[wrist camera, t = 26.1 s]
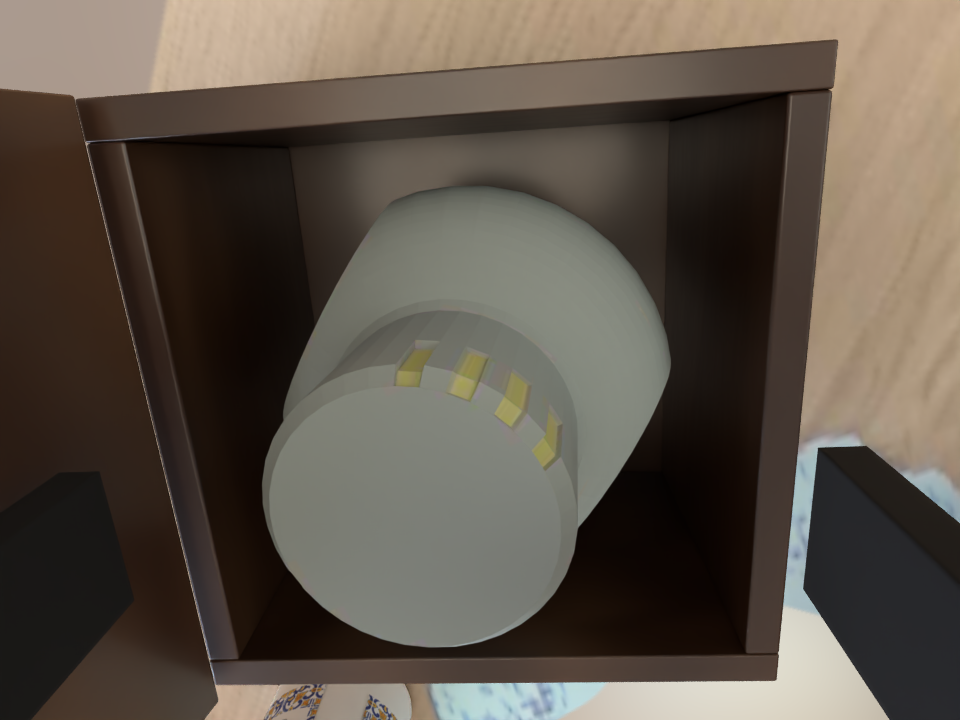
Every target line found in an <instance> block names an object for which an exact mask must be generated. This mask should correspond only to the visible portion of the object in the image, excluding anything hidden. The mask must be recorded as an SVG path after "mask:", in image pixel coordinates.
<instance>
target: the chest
mask: <svg viewBox="0 0 960 720" xmlns="http://www.w3.org/2000/svg"><path fill="white" fill-rule="evenodd" d="M837 46H838V40H836V39H835V40H822V41H809V42H796V43H784V44H771V45H758V46H745V47H732V48H720V49H707V50H694V51H681V52H669V53H656V54H643V55H630V56H617V57H605V58H592V59H579V60H566V61H554V62H541V63H528V64H515V65H502V66H490V67H477V68H464V69H451V70H439V71H426V72H413V73H400V74H387V75H375V76H362V77H349V78H336V79H324V80H311V81H298V82H285V83H272V84H260V85H247V86H234V87H221V88H208V89H196V90H183V91H170V92H157V93H145V94H132V95H119V96H107V97H94V98H81V99H76V106H77V110H78V114H79V118H80V122H81V126H82V131H83V135H84V139H85V142H87V143H90V144H88V145H87V148H88V152H89V157H90V161H91V165H92V169H93V173H94V177H95V182H96V186H97V190H98V194H99V199H100V203H101V207H102V211H103V215H104V219H105V223H106V228H107V232H108V236H109V240H110V245H111V248H112V253H113V257H114V261H115V266H116V270H117V274H118V278H119V282H120V286H121V291H122V295H123V299H124V303H125V307H126V312H127V316H128V320H129V324H130V328H131V333H132V337H133V341H134V345H135V349H136V353H137V358H138V362H139V366H140V370H141V374H142V379H143V383H144V387H145V391H146V395H147V400H148V404H149V408H150V412H151V416H152V420H153V425H154V429H155V433H156V437H157V441H158V446H159V450H160V454H161V458H162V462H163V467H164V471H165V475H166V479H167V483H168V487H169V492H170V496H171V500H172V504H173V508H174V513H175V517H176V521H177V525H178V529H179V534H180V538H181V542H182V546H183V550H184V554H185V559H186V563H187V567H188V571H189V575H190V580H191V584H192V588H193V592H194V596H195V601H196V605H197V609H198V613H199V617H200V621H201V626H202V630H203V634H204V638H205V642H206V647H207V651H208V655H209V658H210V659H211V660H210V665H211V669H212V673H213V677H214V681H215V684H216V685H296V684H425V683H555V682H678V681H679V682H681V681H682V682H684V681H775V680H776V679H777V668H778V658H779V655H778V651H779V642H780V631H781V621H782V610H783V601H784V590H785V580H786V569H787V559H788V548H789V538H790V528H791V517H792V507H793V496H794V486H795V475H796V465H797V454H798V444H799V433H800V423H801V413H802V402H803V392H804V381H805V371H806V360H807V350H808V339H809V329H810V318H811V308H812V297H813V287H814V277H815V266H816V256H817V245H818V235H819V224H820V214H821V203H822V193H823V182H824V172H825V162H826V151H827V141H828V130H829V120H830V109H831V99H832V92H831V90H828V89H831V88H833V86H834V78H835V67H836V57H837ZM449 186H490V187H496V188H501V189H507V190H512V191H518V192H523V193H526V194H529V195H531V196H534V197H537V198H539V199H542V200H545V201H547V202H550V203H553V204H556V205H558V206H559V207H561V208H563V209H565V210H566V211H568V212H570V213H572V214H573V215H575V216H577V217H578V218H580V219H582V220H584V221H585V222H587V223H588V224H590V225H591V226H592V227H593V228H594V229H596V230H597V231H598V232H599V233H600V234H602V235H603V236H604V237H605V238H606V239H608V240H609V241H610V242H611V243H612V244H614V245H615V246H616V248H617V249H618V250H619V251H620V252H621V254H622V255H623V256H624V257H625V258H626V259H627V261H628V262H629V263H630V264H631V265H632V267H633V268H634V269H635V270H636V271H637V273H638V274H639V276H640V278H641V280H642V281H643V283H644V285H645V287H646V288H647V290H648V292H649V293H650V295H651V297H652V299H653V300H654V302H655V304H656V307H657V309H658V312H659V315H660V318H661V321H662V323H663V326H664V329H665V332H666V334H667V339H668V345H669V351H670V357H671V368H670V372H669V377H668V380H667V383H666V385H665V388H664V390H663V393H662V395H661V397H660V400H659V402H658V404H657V406H656V408H655V410H654V413H653V415H652V417H651V419H650V421H649V423H648V425H647V426H646V428H645V430H644V432H643V434H642V435H641V437H640V439H639V441H638V442H637V444H636V446H635V448H634V449H633V451H632V453H631V455H630V456H629V458H628V459H627V461H626V462H625V464H624V466H623V467H622V469H621V470H620V472H619V473H618V475H617V477H616V478H615V479H614V481H613V482H612V484H611V485H610V487H609V488H608V490H607V491H606V492H605V494H604V495H603V497H602V498H601V500H600V501H599V502H598V504H597V505H596V506H595V507H594V509H593V510H592V511H591V513H590V514H589V515H588V517H587V518H586V519H585V520H584V521H583V523H582V524H581V525H580V526H579V527H578V530H577V537H576V543H575V550H574V554H573V557H572V559H571V562H570V565H569V568H568V570H567V573H566V575H565V577H564V578H563V580H562V582H561V583H560V585H559V587H558V588H557V590H556V592H555V593H554V594H553V596H552V597H551V598H550V599H549V600H548V601H547V602H546V603H545V604H544V606H543V607H542V608H541V609H540V610H539V611H538V612H536V613H535V614H534V615H533V616H531V617H530V618H529V619H527V620H526V621H525V622H523V623H522V624H521V625H519V626H517V627H515V628H513V629H511V630H509V631H507V632H506V633H504V634H502V635H499V636H496V637H493V638H490V639H487V640H485V641H482V642H478V643H473V644H467V645H461V646H456V647H422V646H412V645H404V644H400V643H395V642H391V641H387V640H383V639H380V638H378V637H375V636H372V635H370V634H367V633H365V632H362V631H360V630H358V629H356V628H354V627H352V626H351V625H349V624H347V623H345V622H343V621H341V620H340V619H339V618H337V617H336V616H334V615H333V614H332V613H330V612H329V611H328V610H326V609H325V608H323V607H322V606H321V605H320V604H319V603H318V602H317V601H316V600H315V599H314V598H313V597H312V596H311V595H310V594H309V593H308V592H306V591H305V590H304V589H303V588H302V585H301V584H300V583H299V581H298V580H297V579H296V578H295V576H294V575H293V574H292V573H291V572H290V571H289V570H288V569H287V567H286V565H285V564H284V562H283V560H282V558H281V557H280V555H279V553H278V551H277V550H276V548H275V545H274V542H273V540H272V537H271V535H270V532H269V529H268V527H267V522H266V517H265V512H264V508H263V492H262V480H263V473H264V467H265V460H266V457H267V454H268V452H269V449H270V446H271V443H272V440H273V438H274V436H275V434H276V433H277V431H278V429H279V428H280V426H281V424H282V423H283V421H284V419H283V410H284V404H285V400H286V397H287V394H288V391H289V388H290V385H291V382H292V379H293V377H294V374H295V372H296V369H297V367H298V364H299V362H300V359H301V357H302V355H303V352H304V350H305V348H306V346H307V343H308V341H309V339H310V337H311V335H312V333H313V331H314V328H315V326H316V324H317V322H318V320H319V318H320V316H321V314H322V312H323V310H324V308H325V306H326V304H327V302H328V300H329V298H330V297H331V295H332V293H333V291H334V289H335V287H336V285H337V283H338V282H339V280H340V278H341V276H342V274H343V273H344V271H345V269H346V267H347V266H348V264H349V262H350V260H351V259H352V257H353V255H354V254H355V252H356V250H357V249H358V247H359V245H360V244H361V242H362V241H363V239H364V238H365V236H366V235H367V233H368V231H369V230H370V229H371V227H372V226H373V224H374V223H375V221H376V220H377V218H378V217H379V216H380V214H381V213H382V212H383V211H384V210H385V208H386V207H387V206H388V205H389V204H390V203H391V202H393V201H394V200H396V199H399V198H402V197H404V196H407V195H410V194H413V193H416V192H419V191H425V190H431V189H437V188H443V187H449Z"/></svg>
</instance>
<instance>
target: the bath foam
mask: <svg viewBox="0 0 960 720" xmlns="http://www.w3.org/2000/svg"><path fill="white" fill-rule="evenodd" d="M411 715H412V706H411V700H410V696H409V693H408V690H407V688H406V686H405V684H296V685H280V686H279V688H278V690H277V692H276V694H275V697H274V699H273V701H272V703H271V706H270V708H269V710H268V712H267V714H266V716H265V718H264V720H411Z"/></svg>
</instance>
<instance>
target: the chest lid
mask: <svg viewBox="0 0 960 720" xmlns="http://www.w3.org/2000/svg"><path fill="white" fill-rule="evenodd" d="M91 471H100V475H101V479H102V482H103V486H104V490H105V493H106V497H107V501H108V504H109V508H110V512H111V515H112V519H113V523H114V526H115V530H116V534H117V537H118V541H119V545H120V548H121V552H122V556H123V559H124V563H125V567H126V570H127V574H128V578H129V581H130V585H131V589H132V592H133V596H134V601H133V603H132V604H131V605H130V606H129V607H128V608H127V610H126V611H125V612H124V613H123V614H122V615H121V616H120V618H119V619H118V620H117V621H116V622H115V623H114V625H113V626H112V627H111V628H110V629H109V630H108V632H107V633H106V634H105V635H104V636H103V637H102V638H101V640H100V641H99V642H98V643H97V644H96V645H95V647H94V648H93V649H92V650H91V651H90V652H89V653H88V655H87V656H86V657H85V658H84V659H83V660H82V662H81V663H80V664H79V665H78V666H77V667H76V669H75V670H74V671H73V672H72V673H71V674H70V675H69V677H68V678H67V679H66V680H65V681H64V682H63V684H62V685H61V686H60V687H59V688H58V689H57V690H56V692H55V693H54V694H53V695H52V696H51V697H50V699H49V700H48V701H47V702H46V703H45V704H44V705H43V707H42V708H41V709H40V710H39V711H38V712H37V714H36V715H35V716H34V717H33V718H32V719H31V720H204V719H205V718H206V716H207V715H208V714H209V713H210V711H211V710H212V709H213V707H214V706H215V705H216V704H217V702H218V696H217V692H216V688H215V684H214V680H213V676H212V671H211V667H210V663H209V659H208V655H207V651H206V646H205V642H204V638H203V634H202V630H201V625H200V621H199V617H198V613H197V609H196V605H195V600H194V596H193V592H192V588H191V584H190V579H189V575H188V571H187V567H186V563H185V559H184V554H183V550H182V546H181V542H180V538H179V534H178V529H177V525H176V521H175V517H174V513H173V508H172V504H171V500H170V496H169V492H168V488H167V483H166V479H165V475H164V471H163V467H162V462H161V458H160V454H159V450H158V446H157V442H156V437H155V433H154V429H153V425H152V421H151V417H150V412H149V408H148V404H147V400H146V396H145V391H144V387H143V383H142V379H141V375H140V371H139V366H138V362H137V358H136V354H135V350H134V346H133V341H132V337H131V333H130V329H129V325H128V320H127V316H126V312H125V308H124V304H123V300H122V295H121V291H120V287H119V283H118V279H117V274H116V270H115V266H114V262H113V258H112V254H111V250H110V245H109V241H108V237H107V233H106V229H105V224H104V220H103V216H102V212H101V208H100V203H99V199H98V195H97V191H96V187H95V183H94V179H93V174H92V170H91V166H90V162H89V158H88V153H87V149H86V145H85V141H84V137H83V132H82V128H81V124H80V120H79V116H78V112H77V107H76V103H75V99H74V97H73V96H71V95H63V94H52V93H42V92H31V91H19V90H8V89H0V513H1V512H2V511H4V510H5V509H7V508H8V507H10V506H11V505H12V504H14V503H15V502H17V501H18V500H20V499H21V498H23V497H24V496H26V495H27V494H28V493H30V492H31V491H33V490H34V489H36V488H37V487H39V486H40V485H42V484H43V483H44V482H46V481H47V480H49V479H50V478H52V477H53V476H55V475H56V474H58V473H60V472H91Z"/></svg>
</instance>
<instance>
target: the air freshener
mask: <svg viewBox="0 0 960 720" xmlns="http://www.w3.org/2000/svg"><path fill="white" fill-rule="evenodd" d="M670 368H671V357H670V351H669V345H668V339H667V334H666V332H665V329H664V326H663V323H662V321H661V318H660V315H659V312H658V309H657V307H656V304H655V302H654V300H653V299H652V297H651V295H650V293H649V292H648V290H647V288H646V287H645V285H644V283H643V281H642V280H641V278H640V276H639V274H638V273H637V271H636V270H635V269H634V268H633V267H632V265H631V264H630V263H629V262H628V261H627V259H626V258H625V257H624V256H623V255H622V254H621V252H620V251H619V250H618V249H617V248H616V246H615V245H614V244H612V243H611V242H610V241H609V240H608V239H606V238H605V237H604V236H603V235H602V234H600V233H599V232H598V231H597V230H596V229H594V228H593V227H592V226H591V225H590V224H588V223H587V222H585V221H584V220H582V219H580V218H578V217H577V216H575V215H573V214H572V213H570V212H568V211H566V210H565V209H563V208H561V207H559V206H558V205H556V204H553V203H550V202H547V201H545V200H542V199H539V198H537V197H534V196H531V195H529V194H526V193H523V192H518V191H512V190H507V189H501V188H496V187H490V186H449V187H443V188H437V189H431V190H425V191H419V192H416V193H413V194H410V195H407V196H404V197H402V198H399V199H396V200H394V201H393V202H391V203H390V204H389V205H388V206H387V207H386V208H385V210H384V211H383V212H382V213H381V214H380V216H379V217H378V218H377V220H376V221H375V223H374V224H373V226H372V227H371V229H370V230H369V231H368V233H367V235H366V236H365V238H364V239H363V241H362V242H361V244H360V245H359V247H358V249H357V250H356V252H355V254H354V255H353V257H352V259H351V260H350V262H349V264H348V266H347V267H346V269H345V271H344V273H343V274H342V276H341V278H340V280H339V282H338V283H337V285H336V287H335V289H334V291H333V293H332V295H331V297H330V298H329V300H328V302H327V304H326V306H325V308H324V310H323V312H322V314H321V316H320V318H319V320H318V322H317V324H316V326H315V328H314V331H313V333H312V335H311V337H310V339H309V341H308V343H307V346H306V348H305V350H304V352H303V355H302V357H301V359H300V362H299V364H298V367H297V369H296V372H295V374H294V377H293V379H292V382H291V385H290V388H289V391H288V394H287V397H286V400H285V404H284V410H283V419H284V421H283V423H282V424H281V426H280V428H279V429H278V431H277V433H276V434H275V436H274V438H273V440H272V443H271V446H270V449H269V452H268V454H267V457H266V460H265V467H264V473H263V480H262V492H263V508H264V512H265V517H266V522H267V527H268V529H269V532H270V535H271V537H272V540H273V542H274V545H275V548H276V550H277V551H278V553H279V555H280V557H281V558H282V560H283V562H284V564H285V565H286V567H287V569H288V570H289V571H290V572H291V573H292V574H293V575H294V576H295V578H296V579H297V580H298V581H299V583H300V584H301V585H302V588H303V589H304V590H305V591H306V592H308V593H309V594H310V595H311V596H312V597H313V598H314V599H315V600H316V601H317V602H318V603H319V604H320V605H321V606H322V607H323V608H325V609H326V610H328V611H329V612H330V613H332V614H333V615H334V616H336V617H337V618H339V619H340V620H341V621H343V622H345V623H347V624H349V625H351V626H352V627H354V628H356V629H358V630H360V631H362V632H365V633H367V634H370V635H372V636H375V637H378V638H380V639H383V640H387V641H391V642H395V643H400V644H404V645H412V646H422V647H456V646H461V645H467V644H473V643H478V642H482V641H485V640H487V639H490V638H493V637H496V636H499V635H502V634H504V633H506V632H507V631H509V630H511V629H513V628H515V627H517V626H519V625H521V624H522V623H523V622H525V621H526V620H527V619H529V618H530V617H531V616H533V615H534V614H535V613H536V612H538V611H539V610H540V609H541V608H542V607H543V606H544V604H545V603H546V602H547V601H548V600H549V599H550V598H551V597H552V596H553V594H554V593H555V592H556V590H557V588H558V587H559V585H560V583H561V582H562V580H563V578H564V577H565V575H566V573H567V570H568V568H569V565H570V562H571V559H572V557H573V554H574V550H575V543H576V537H577V530H578V527H579V526H580V525H581V524H582V523H583V521H584V520H585V519H586V518H587V517H588V515H589V514H590V513H591V511H592V510H593V509H594V507H595V506H596V505H597V504H598V502H599V501H600V500H601V498H602V497H603V495H604V494H605V492H606V491H607V490H608V488H609V487H610V485H611V484H612V482H613V481H614V479H615V478H616V477H617V475H618V473H619V472H620V470H621V469H622V467H623V466H624V464H625V462H626V461H627V459H628V458H629V456H630V455H631V453H632V451H633V449H634V448H635V446H636V444H637V442H638V441H639V439H640V437H641V435H642V434H643V432H644V430H645V428H646V426H647V425H648V423H649V421H650V419H651V417H652V415H653V413H654V410H655V408H656V406H657V404H658V402H659V400H660V397H661V395H662V393H663V390H664V388H665V385H666V383H667V380H668V377H669V372H670Z"/></svg>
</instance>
